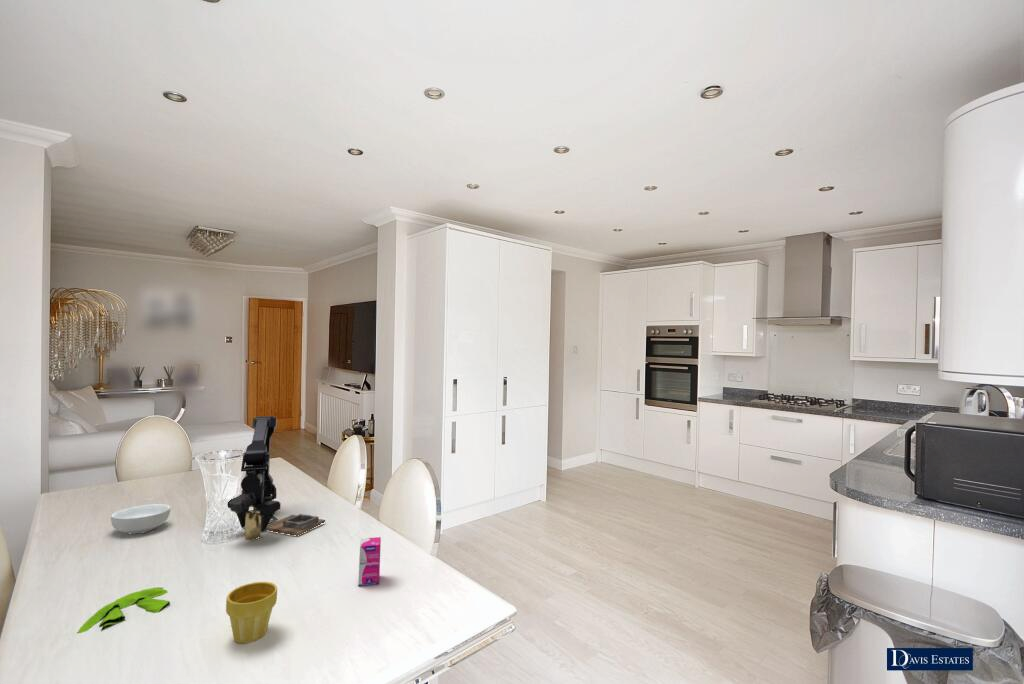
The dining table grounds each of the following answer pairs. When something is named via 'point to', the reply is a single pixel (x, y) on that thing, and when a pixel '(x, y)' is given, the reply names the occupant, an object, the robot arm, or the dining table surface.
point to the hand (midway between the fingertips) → (253, 529)
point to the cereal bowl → (140, 518)
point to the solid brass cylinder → (252, 525)
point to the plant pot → (251, 610)
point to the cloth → (124, 602)
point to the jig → (295, 524)
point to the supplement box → (369, 561)
